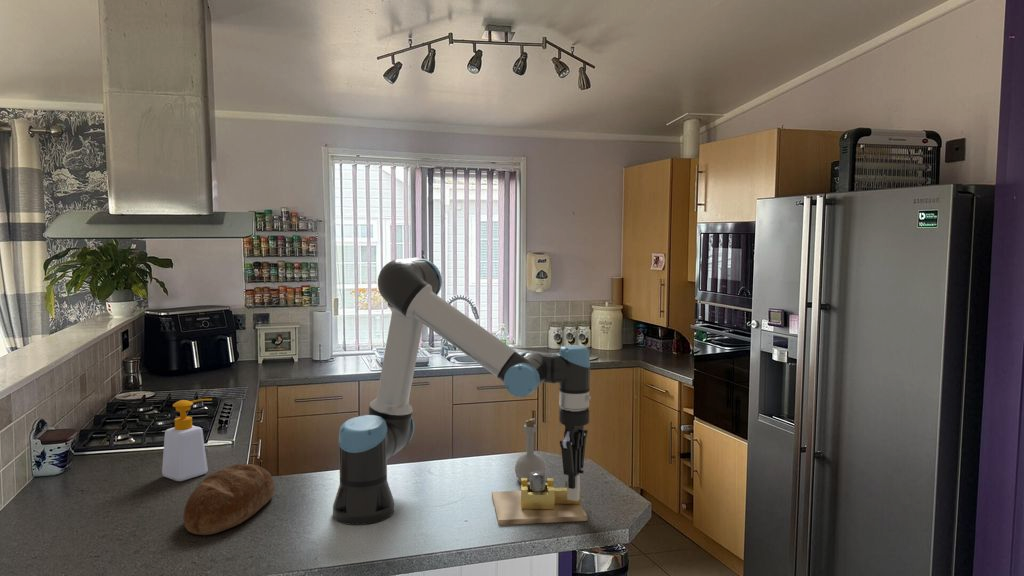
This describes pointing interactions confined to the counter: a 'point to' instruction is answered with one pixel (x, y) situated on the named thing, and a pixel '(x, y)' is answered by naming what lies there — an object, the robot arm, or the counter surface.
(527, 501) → the handled square frame
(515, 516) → the oak board
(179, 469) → the soap bottle
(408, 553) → the counter surface
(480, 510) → the counter surface
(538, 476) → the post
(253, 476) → the bread
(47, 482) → the counter surface
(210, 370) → the counter surface
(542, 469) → the potion bottle
